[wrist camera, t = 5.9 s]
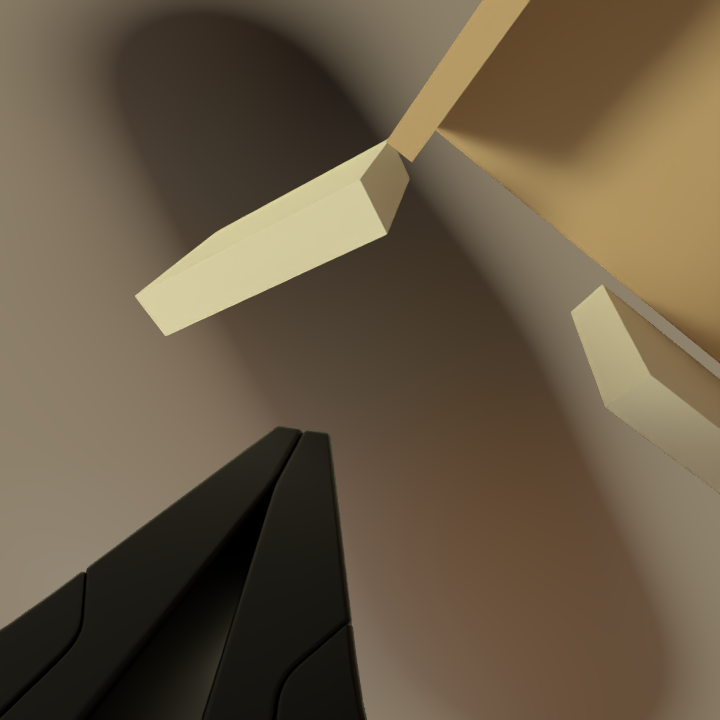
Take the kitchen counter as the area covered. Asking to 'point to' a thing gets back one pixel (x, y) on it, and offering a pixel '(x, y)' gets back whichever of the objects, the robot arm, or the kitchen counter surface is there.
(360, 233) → the flap
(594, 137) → the carton
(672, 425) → the flap
